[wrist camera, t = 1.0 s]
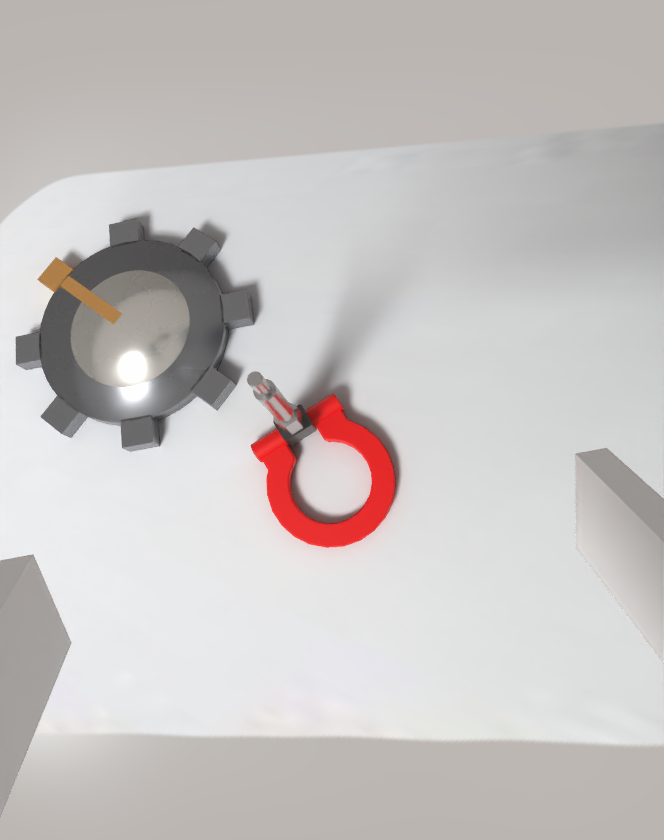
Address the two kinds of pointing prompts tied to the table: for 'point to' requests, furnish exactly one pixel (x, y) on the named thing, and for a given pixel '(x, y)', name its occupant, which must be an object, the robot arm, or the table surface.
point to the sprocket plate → (134, 334)
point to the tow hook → (281, 462)
